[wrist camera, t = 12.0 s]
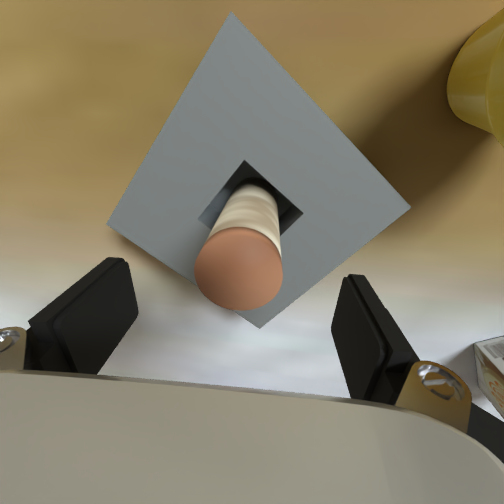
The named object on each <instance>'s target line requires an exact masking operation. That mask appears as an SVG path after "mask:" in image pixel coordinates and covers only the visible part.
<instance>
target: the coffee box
mask: <svg viewBox="0 0 504 504" xmlns="http://www.w3.org/2000/svg"><path fill="white" fill-rule="evenodd" d="M474 351H475V360H476V368H477V376H478V384H479V388H480V390H481V391H482V392H483V393H484V395H485V396H486V397H487V398H488V400H489V401H490V402H491V403H492V405H493V406H494V407H495V408H496V410H497V411H498V412H499V413H500V415H501V416H502V417H503V419H504V336H502V337H498V338H494V339H490V340H486V341H481V342H477V343H474Z"/></svg>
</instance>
